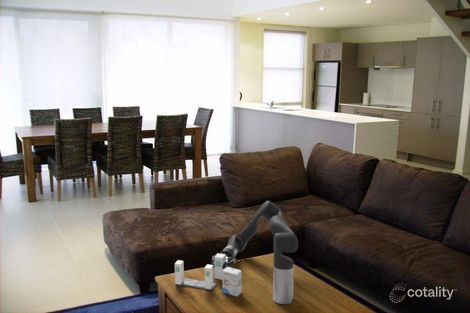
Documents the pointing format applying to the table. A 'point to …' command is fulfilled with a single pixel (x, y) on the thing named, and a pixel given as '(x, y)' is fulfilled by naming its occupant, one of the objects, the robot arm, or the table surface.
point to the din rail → (195, 284)
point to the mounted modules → (180, 274)
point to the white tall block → (219, 265)
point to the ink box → (232, 281)
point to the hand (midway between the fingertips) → (218, 266)
